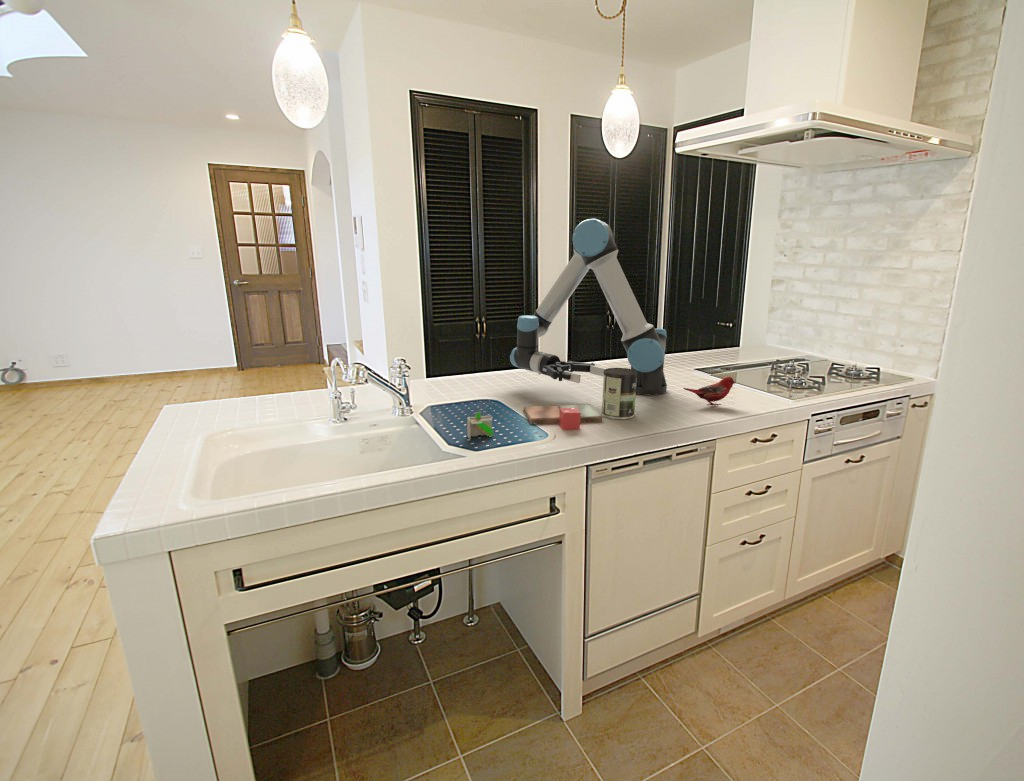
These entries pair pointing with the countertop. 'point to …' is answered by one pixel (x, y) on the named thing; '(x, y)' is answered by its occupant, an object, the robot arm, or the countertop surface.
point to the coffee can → (619, 393)
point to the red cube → (569, 418)
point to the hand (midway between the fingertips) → (593, 375)
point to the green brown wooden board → (552, 414)
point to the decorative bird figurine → (714, 390)
